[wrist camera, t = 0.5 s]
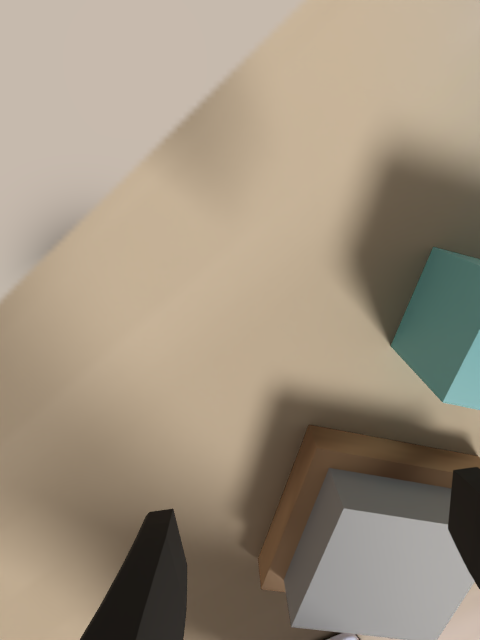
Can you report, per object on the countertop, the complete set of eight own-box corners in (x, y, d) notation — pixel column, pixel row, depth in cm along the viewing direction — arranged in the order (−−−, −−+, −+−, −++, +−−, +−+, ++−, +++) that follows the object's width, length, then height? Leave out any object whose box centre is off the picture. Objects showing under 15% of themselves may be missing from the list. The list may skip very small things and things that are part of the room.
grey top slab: (474, 492, 21) (505, 533, 19) (413, 595, 24) (435, 642, 22) (329, 467, 20) (343, 508, 18) (283, 579, 23) (291, 626, 20)
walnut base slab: (471, 448, 23) (499, 480, 21) (403, 570, 27) (421, 609, 24) (306, 417, 22) (316, 448, 20) (257, 549, 25) (261, 589, 23)
